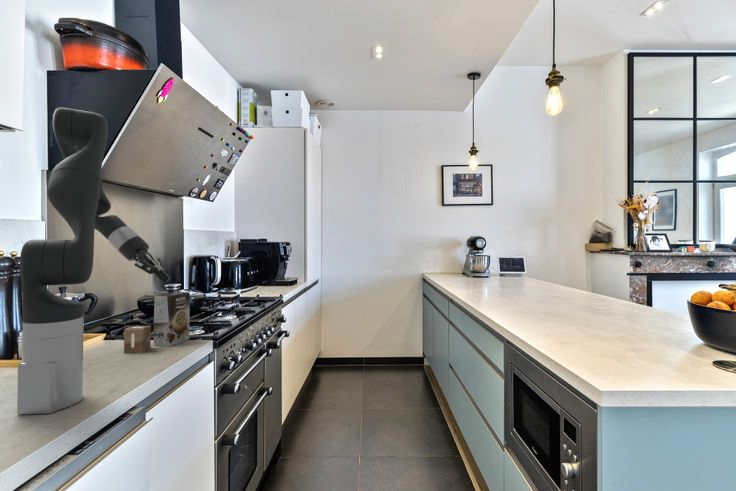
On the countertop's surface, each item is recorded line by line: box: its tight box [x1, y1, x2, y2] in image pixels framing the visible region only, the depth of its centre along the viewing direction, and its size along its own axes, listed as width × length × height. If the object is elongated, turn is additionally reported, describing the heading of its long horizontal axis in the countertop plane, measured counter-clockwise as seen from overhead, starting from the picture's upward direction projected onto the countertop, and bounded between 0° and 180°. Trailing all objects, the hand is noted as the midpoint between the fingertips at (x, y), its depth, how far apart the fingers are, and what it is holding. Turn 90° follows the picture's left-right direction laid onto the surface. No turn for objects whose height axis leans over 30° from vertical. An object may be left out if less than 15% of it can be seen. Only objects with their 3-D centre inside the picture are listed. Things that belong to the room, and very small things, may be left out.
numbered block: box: [123, 325, 152, 354], centre depth 107 cm, size 5×5×7 cm
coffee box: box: [152, 291, 191, 347], centre depth 116 cm, size 9×6×16 cm
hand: (167, 280), depth 116 cm, fingers closed
